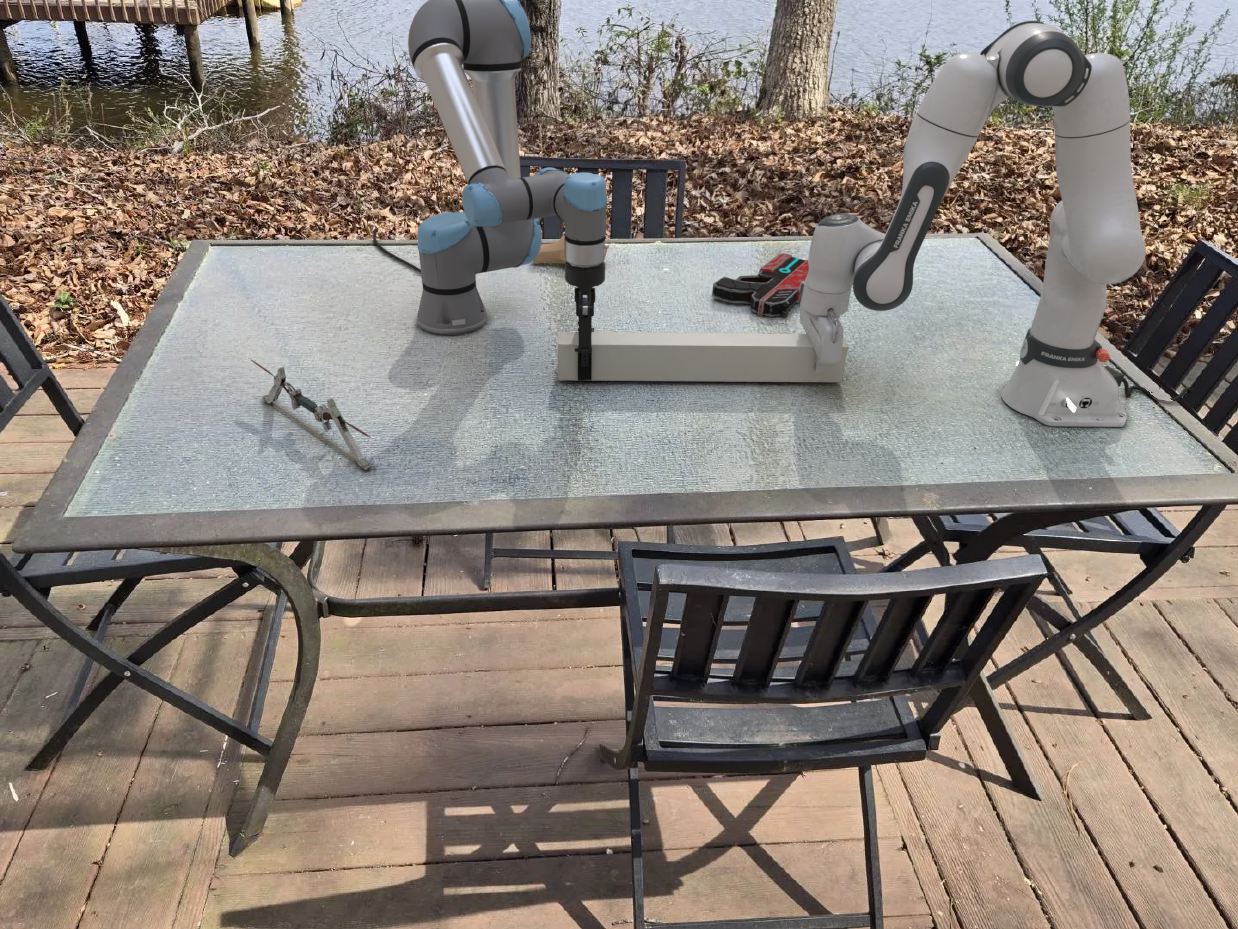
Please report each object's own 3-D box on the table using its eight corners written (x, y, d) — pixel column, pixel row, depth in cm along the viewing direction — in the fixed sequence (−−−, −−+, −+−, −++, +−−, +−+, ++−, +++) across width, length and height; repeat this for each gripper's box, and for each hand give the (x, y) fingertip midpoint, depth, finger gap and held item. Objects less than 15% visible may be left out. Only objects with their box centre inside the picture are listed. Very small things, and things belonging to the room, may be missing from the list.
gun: (708, 284, 207) (784, 305, 199) (760, 245, 229) (831, 262, 221) (706, 302, 209) (781, 323, 201) (758, 261, 231) (828, 278, 223)
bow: (382, 473, 146) (374, 421, 141) (372, 477, 145) (364, 425, 140) (264, 393, 168) (253, 345, 162) (255, 396, 167) (243, 348, 161)
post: (558, 380, 173) (557, 344, 169) (558, 367, 178) (558, 331, 174) (841, 382, 176) (848, 346, 171) (835, 369, 180) (841, 334, 176)
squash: (609, 272, 224) (605, 241, 218) (532, 279, 226) (525, 248, 219) (610, 251, 232) (605, 220, 226) (535, 258, 233) (529, 227, 227)
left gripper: (606, 280, 155) (604, 394, 168) (604, 243, 170) (602, 350, 183) (564, 280, 155) (565, 394, 168) (565, 242, 170) (566, 349, 183)
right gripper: (855, 322, 160) (843, 388, 168) (829, 279, 177) (819, 341, 185) (821, 321, 160) (810, 388, 168) (798, 279, 177) (789, 341, 184)
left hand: (584, 371), depth 176 cm, fingers closed on post, 6 cm apart
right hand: (814, 363), depth 176 cm, fingers closed on post, 5 cm apart
